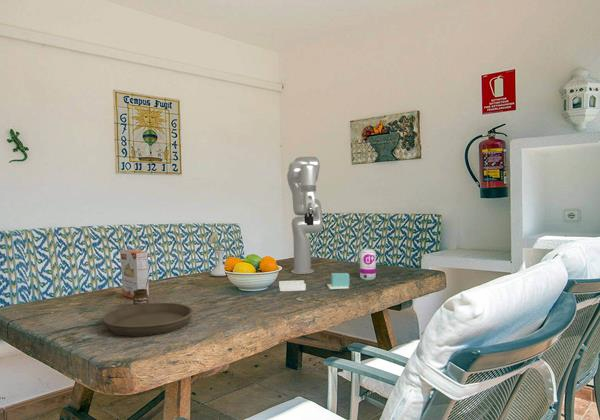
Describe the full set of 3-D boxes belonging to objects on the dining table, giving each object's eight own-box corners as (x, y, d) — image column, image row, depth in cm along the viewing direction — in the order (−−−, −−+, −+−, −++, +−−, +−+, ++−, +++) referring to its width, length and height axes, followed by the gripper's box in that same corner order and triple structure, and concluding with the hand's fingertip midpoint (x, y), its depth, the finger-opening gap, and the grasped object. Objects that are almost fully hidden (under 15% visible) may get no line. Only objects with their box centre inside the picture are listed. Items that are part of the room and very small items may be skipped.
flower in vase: (220, 273, 274) (219, 229, 273) (235, 275, 268) (234, 230, 266) (203, 277, 264) (202, 231, 262) (218, 279, 257) (217, 232, 256)
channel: (279, 287, 233) (279, 281, 233) (303, 286, 234) (303, 280, 234) (280, 291, 224) (279, 284, 224) (305, 290, 225) (305, 283, 225)
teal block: (331, 284, 234) (331, 273, 234) (347, 284, 235) (347, 272, 235) (332, 286, 229) (332, 275, 229) (349, 286, 230) (349, 274, 230)
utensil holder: (132, 306, 200) (131, 277, 199) (148, 304, 202) (147, 276, 202) (134, 309, 195) (133, 279, 194) (150, 307, 197) (149, 278, 196)
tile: (327, 285, 236) (327, 283, 236) (345, 284, 237) (345, 283, 237) (329, 289, 227) (329, 287, 227) (348, 288, 228) (348, 287, 228)
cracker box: (121, 296, 219) (120, 250, 218) (134, 293, 224) (132, 249, 223) (137, 300, 210) (135, 252, 209) (149, 298, 214) (148, 251, 213)
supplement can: (376, 279, 247) (376, 250, 247) (360, 280, 248) (360, 251, 247) (374, 276, 256) (374, 248, 255) (359, 277, 256) (358, 248, 255)
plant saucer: (193, 334, 161) (193, 321, 160) (94, 342, 154) (93, 328, 154) (193, 311, 191) (193, 300, 191) (110, 317, 184) (110, 305, 184)
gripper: (318, 189, 228) (319, 225, 229) (313, 189, 245) (314, 222, 246) (302, 189, 227) (303, 226, 228) (299, 189, 245) (299, 222, 246)
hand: (308, 224), depth 237 cm, fingers open, 9 cm apart
